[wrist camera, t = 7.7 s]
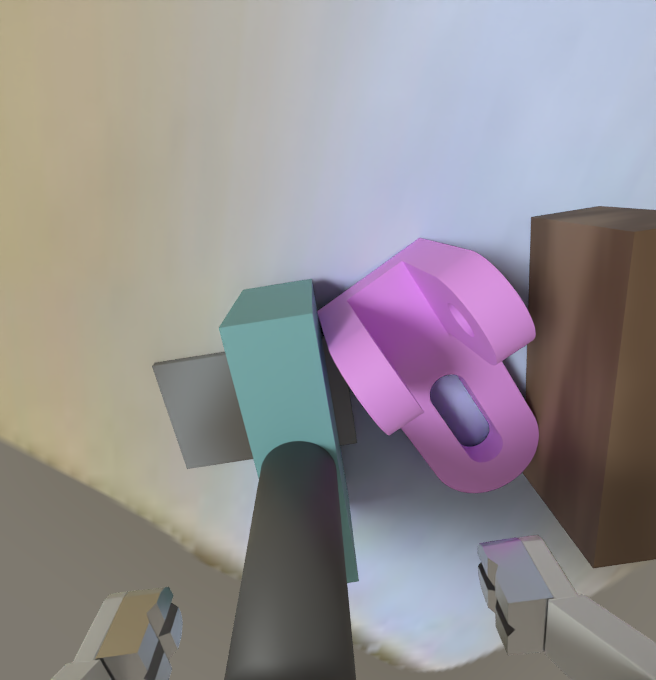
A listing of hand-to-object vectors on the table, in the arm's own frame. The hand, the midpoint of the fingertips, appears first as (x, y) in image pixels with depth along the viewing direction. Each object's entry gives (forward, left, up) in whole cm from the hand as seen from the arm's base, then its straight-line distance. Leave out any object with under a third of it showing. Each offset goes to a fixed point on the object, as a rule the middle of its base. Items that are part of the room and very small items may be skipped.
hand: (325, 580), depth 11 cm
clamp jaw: (+1, 0, -10) cm, 10 cm away
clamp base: (-3, 0, -10) cm, 11 cm away
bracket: (-6, 0, -10) cm, 12 cm away
